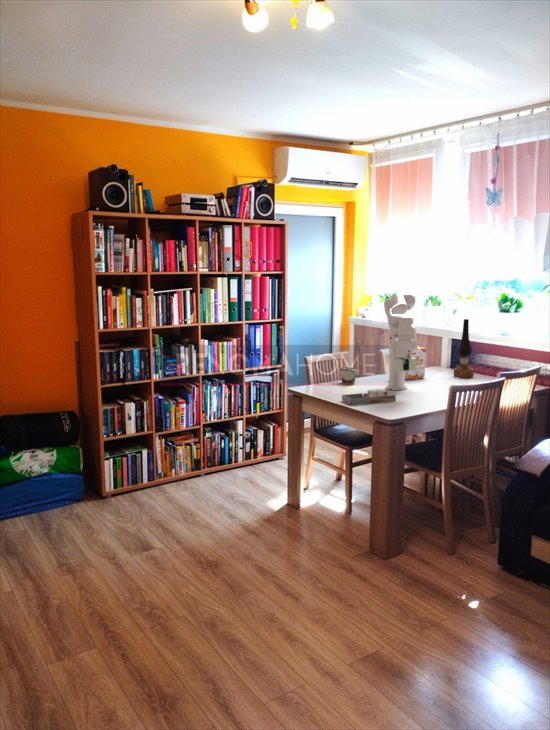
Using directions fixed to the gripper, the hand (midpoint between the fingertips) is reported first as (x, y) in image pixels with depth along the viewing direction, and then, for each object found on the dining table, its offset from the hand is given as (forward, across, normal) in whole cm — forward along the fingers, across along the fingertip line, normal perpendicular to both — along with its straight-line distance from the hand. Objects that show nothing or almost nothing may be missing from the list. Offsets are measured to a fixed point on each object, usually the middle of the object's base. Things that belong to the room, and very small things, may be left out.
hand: (403, 369), depth 340 cm
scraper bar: (+1, 0, 0) cm, 1 cm away
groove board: (+17, 0, -16) cm, 23 cm away
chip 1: (+15, 0, -20) cm, 25 cm away
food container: (+17, -50, -10) cm, 54 cm away
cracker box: (+17, -49, +37) cm, 64 cm away
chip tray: (+17, 0, -30) cm, 34 cm away
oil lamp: (+17, -43, +72) cm, 86 cm away
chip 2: (+15, 0, -16) cm, 22 cm away
